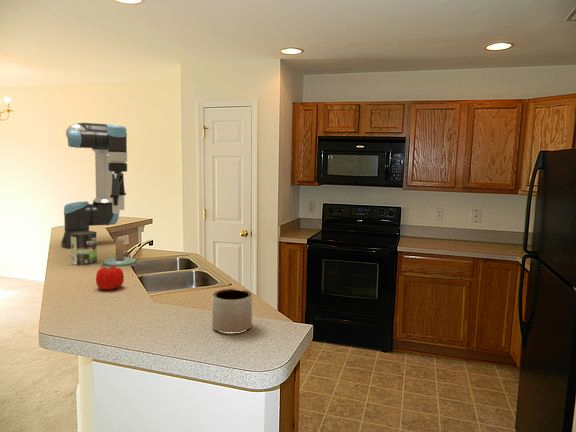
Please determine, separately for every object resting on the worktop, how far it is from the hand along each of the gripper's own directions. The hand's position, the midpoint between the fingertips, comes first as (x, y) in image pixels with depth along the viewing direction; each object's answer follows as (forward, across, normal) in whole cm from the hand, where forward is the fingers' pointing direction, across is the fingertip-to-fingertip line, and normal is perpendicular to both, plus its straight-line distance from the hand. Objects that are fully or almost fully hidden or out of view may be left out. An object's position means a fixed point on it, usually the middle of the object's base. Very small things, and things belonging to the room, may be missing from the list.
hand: (118, 211), depth 182 cm
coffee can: (+24, -1, -15) cm, 28 cm away
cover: (+23, 0, 0) cm, 23 cm away
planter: (+24, +82, +41) cm, 95 cm away
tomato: (+24, +38, +2) cm, 45 cm away
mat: (+23, 0, 0) cm, 23 cm away
